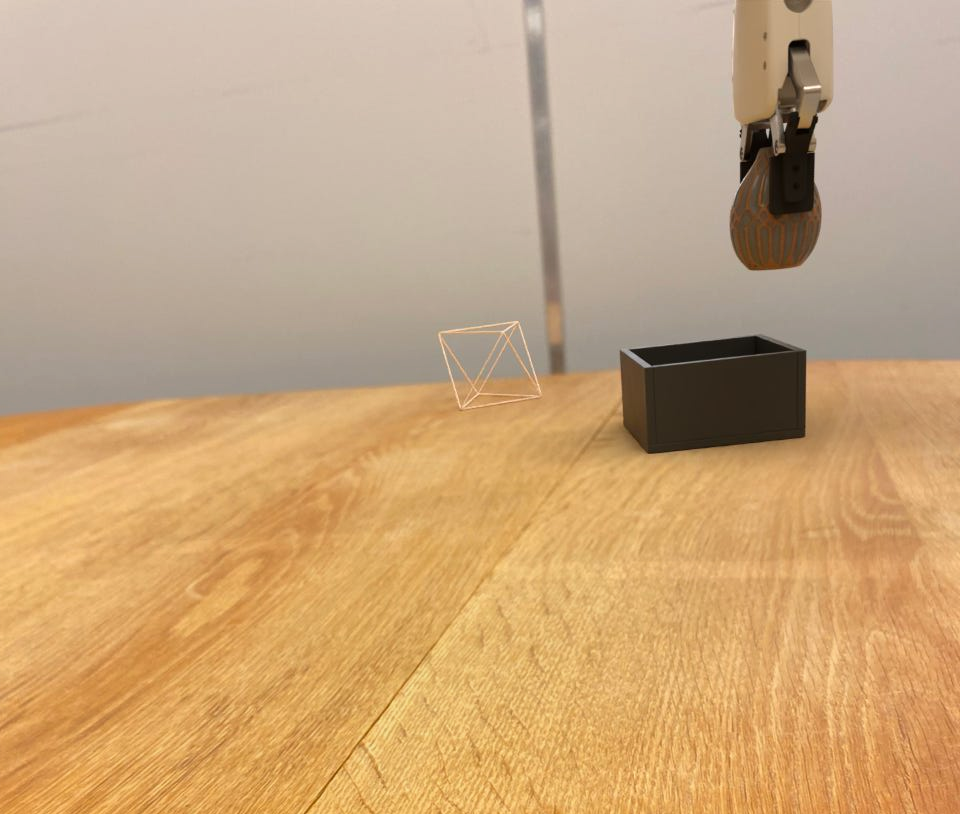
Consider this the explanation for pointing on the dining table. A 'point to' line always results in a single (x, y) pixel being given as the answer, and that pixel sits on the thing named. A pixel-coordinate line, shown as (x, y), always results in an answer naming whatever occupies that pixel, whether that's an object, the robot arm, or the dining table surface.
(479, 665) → the dining table surface
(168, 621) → the dining table surface
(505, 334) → the geometric polyhedron
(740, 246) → the vase
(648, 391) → the bin
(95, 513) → the dining table surface
